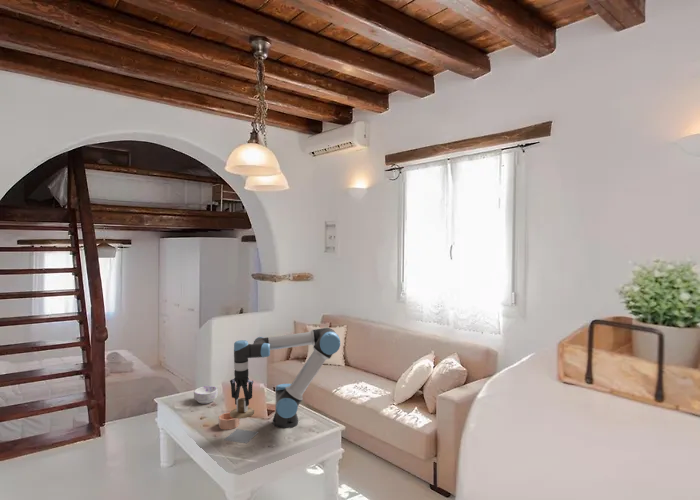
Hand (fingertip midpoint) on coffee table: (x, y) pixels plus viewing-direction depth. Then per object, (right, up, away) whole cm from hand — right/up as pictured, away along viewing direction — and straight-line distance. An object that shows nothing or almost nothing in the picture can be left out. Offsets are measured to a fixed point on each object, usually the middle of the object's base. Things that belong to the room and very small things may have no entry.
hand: (242, 410), depth 238 cm
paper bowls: (-38, -13, +52) cm, 66 cm away
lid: (0, -2, 0) cm, 2 cm away
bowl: (-11, -14, +14) cm, 23 cm away
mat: (0, -15, 0) cm, 15 cm away
